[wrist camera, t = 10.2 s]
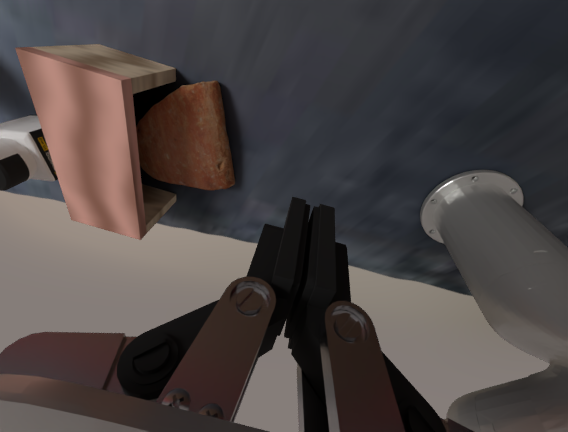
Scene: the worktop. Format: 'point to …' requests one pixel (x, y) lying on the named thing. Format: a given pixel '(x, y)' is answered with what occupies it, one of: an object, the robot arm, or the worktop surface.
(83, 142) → the overhang bay
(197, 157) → the ceramic shard
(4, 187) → the medicine bottle
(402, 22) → the worktop surface
